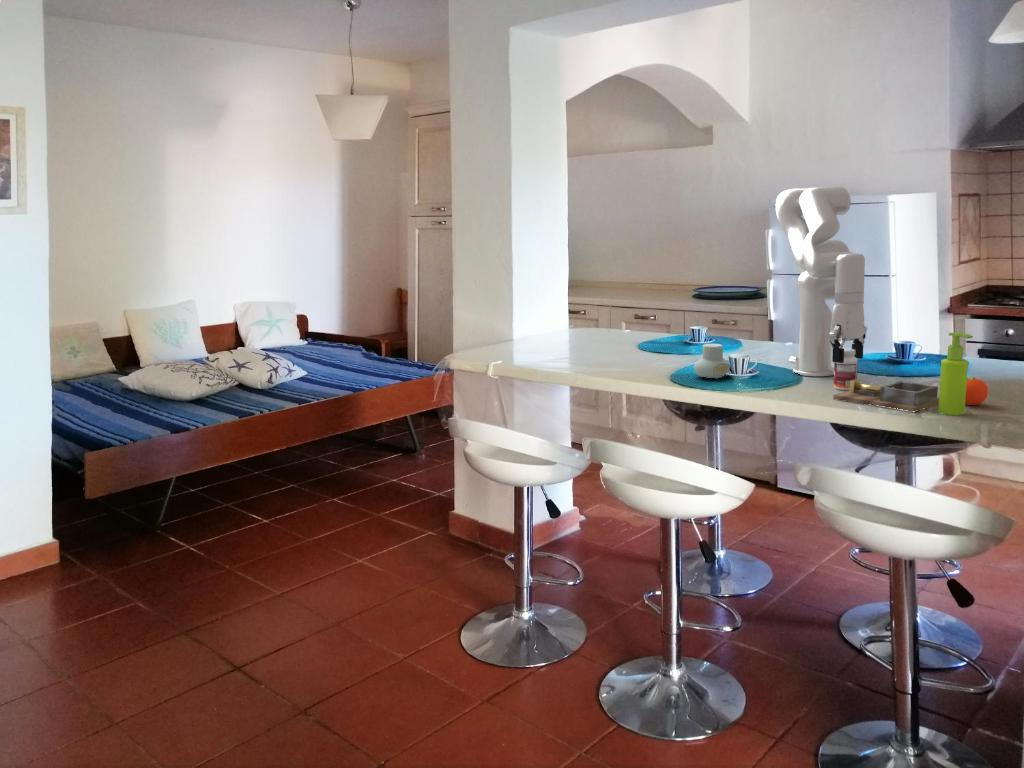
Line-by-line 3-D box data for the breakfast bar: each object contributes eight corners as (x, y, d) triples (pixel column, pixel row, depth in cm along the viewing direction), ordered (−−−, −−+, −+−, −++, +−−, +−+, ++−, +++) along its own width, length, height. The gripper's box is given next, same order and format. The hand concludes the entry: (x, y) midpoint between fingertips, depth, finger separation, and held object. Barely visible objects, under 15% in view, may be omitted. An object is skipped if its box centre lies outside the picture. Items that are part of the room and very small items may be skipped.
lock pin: (849, 391, 243) (849, 380, 242) (855, 389, 245) (855, 378, 244) (881, 396, 236) (882, 385, 235) (887, 394, 238) (887, 383, 237)
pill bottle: (838, 385, 257) (840, 347, 255) (860, 387, 253) (862, 348, 251) (829, 388, 253) (831, 350, 251) (851, 391, 249) (853, 352, 247)
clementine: (953, 407, 228) (955, 379, 227) (950, 401, 234) (952, 374, 233) (988, 408, 225) (990, 380, 224) (985, 402, 232) (987, 375, 230)
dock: (833, 399, 241) (834, 382, 240) (861, 390, 249) (862, 374, 248) (913, 412, 224) (914, 394, 223) (940, 403, 233) (941, 385, 232)
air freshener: (707, 382, 268) (707, 348, 266) (689, 377, 275) (689, 345, 273) (735, 377, 273) (736, 344, 271) (717, 373, 280) (717, 341, 278)
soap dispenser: (956, 417, 218) (961, 335, 214) (932, 411, 224) (937, 332, 220) (973, 414, 220) (979, 333, 216) (949, 408, 227) (954, 330, 222)
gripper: (853, 296, 256) (852, 355, 259) (819, 300, 245) (818, 362, 248) (878, 296, 250) (876, 357, 253) (844, 301, 239) (842, 365, 242)
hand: (847, 360), depth 251 cm, fingers open, 9 cm apart
